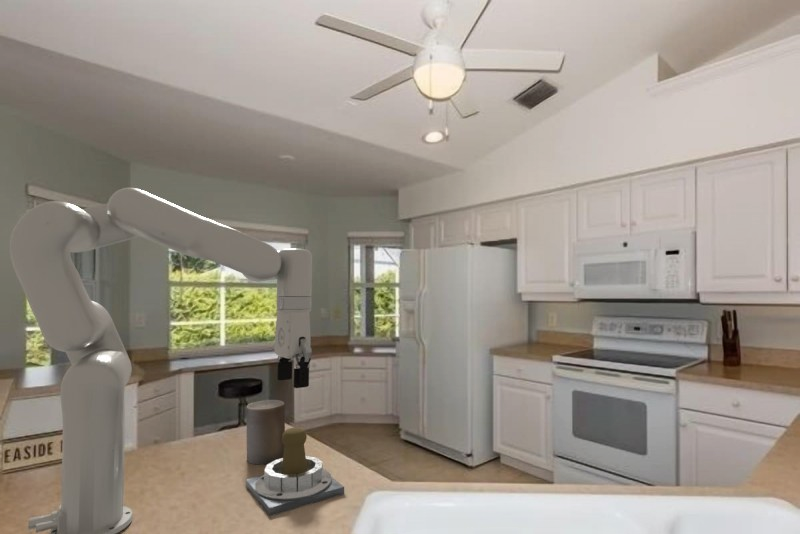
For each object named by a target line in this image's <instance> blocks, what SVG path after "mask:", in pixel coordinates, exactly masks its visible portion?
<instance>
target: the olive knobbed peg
mask: <svg viewBox="0 0 800 534" xmlns="http://www.w3.org/2000/svg"><path fill="white" fill-rule="evenodd" d="M307 435H308V434H307V431H306V430H305V429H304V428H302V427H290V428H287V429H285V431H284V433H283V435H282V442H283V444H284V445H285V447H284V455H283V463H282V471H281V474H284V475H291V474H300V473H304V472H308V471H307V463H306V456H307V455H306V449H305V443H306V441H307V438H308V437H307Z"/></svg>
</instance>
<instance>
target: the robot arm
mask: <svg viewBox="0 0 800 534" xmlns="http://www.w3.org/2000/svg"><path fill="white" fill-rule="evenodd" d="M136 238H143V239H145V240H148V241H150V242H153V243H155V244H157V245H160V246H162V247H165V248H167V249H169V250H172V251H174V252H177V253H179V254H181V255H185V256H188V257H191V258H196V259H203V260H207V261H209V262H213V263H216V264H218V265H220V266H224V267H226V268H228V269H231V270H233V271H236V272H238V273H241V274H242V275H243V277H245V278H246V279H247V280H249V281H251V282H266V281H276V307H275V308H276V312H277V316H276V322H275V332H274V334H275V335H274V349H273V350H274V353H275V355H276V356H277V380H278V381H286V380H293V384H292V385H293V388H294V389H301V388H308V387H309V385H310V368H311V363H310V362H311V356H312V347H311V319H310V312H312V301H313V300H312V292H313V290H312V289H313V287H312V286H313V285H312V284H313V283H312V282H313V279H312V278H313V254H312V252H311V251H310V250H308V249H304V248H291V247H290V248H283V249H281V250H277V249H276V248H275V247H273V246H272V245H271V244H269V243H266V242H264V241H262V240H260V239H258V238H256V237H253V236H251V235H249V234H247V233H244V232H242V231H240V230H238V229H235V228H232V227H230V226H227V225H224V224H222V223H219V222H216V221H215V220H212V219H210V218H206V217H204V216H201V215H199V214H197V213H194V212H193V211H190V210H188V209H185V208H183V207H181V206H179V205H176V204H174V203H172V202H170V201H167V200H166V199H163V198H161V197H158V196H156V195H154V194H151V193H149V192H148V191H145V190H143V189H142V190H141V189H140V188H136V187H123V188H121V189H118V190H116V191H115V192H113V194H112V195H111V196H110V197H109V200H108V201H107V203H103V204H100V205H94V206H91V207H86V208H80V207H79V206H77V205H75V204H72V203H70V202H67V201H61V200H60V201H59V200H51V201H46V202H42V203H40V204H37V205H36V206H33V207H32V208H30V210H28V211H27V212H25V213H24V214H23V215H22V216H21V217H20V219H19V220H18V221H17V223H16V224H15V226H14V228H13V230H12V232H11V235H10V239H9V254H10V255H9V256H10V260H11V264H12V267H13V270H14V272H15V274H16V277H17V278H18V281H19V284H20V285H21V287H22V290H23V292H24V294H25V297H26V300H27V303H28V305H29V306H30V309H31V312H32V314H33V315H34V318H35V320H36V323H37V325H38V327H39V329H40V332H41V335H42V337H43V339H44V342H46V343H47V345H49V346H50V348H52V349H54V350H56V351H59V352H64V353H65V354H66V356H67V358H68V360H69V362H70V364H71V365H70V367H69V368H68V369H67V370H66V372H65V373H64V375H63V378H62V381H61V384H60V405H61V415H62V419H61V420H62V440H61V441H62V444H61V447H62V455H61V456H62V457H61V458H62V459H61V491H60V492H61V495H60V501H61V502H60V504H59V507H58V509H57V510H52V512H51V513H48V514H44V515H38V516H34V517H33V516H32V517H29V519H28V524H27V525H28V527H27V528H28V529H27V530H28V531H31V530H35V533H36V534H38V533H40V532H45V531H48V530H50V531H49V534H118V533H119V532H121V531H123V530H124V529H125V528H127V527H128V526H129V525H130V523H131V522H132V521H133V516H134V512H133V510H132V509H131V508H130V507H128V506H125V505H124V498H125V497H124V495H125V494H124V491H125V490H124V489H125V483H124V482H125V445H126V443H125V438H126V436H125V435H126V434H125V433H126V432H125V431H126V429H125V428H126V427H125V426H126V424H125V423H126V421H125V420H126V416H125V414H126V410H125V387H126V386H127V384H128V383H129V381H130V379H131V376H132V372H133V371H132V369H133V368H132V363H131V362H132V361H131V360H130V357H129V355H128V352H127V350H126V348H125V346H124V343H123V341H122V338H121V336H120V335H119V332H118V330H117V328H116V325H115V323H114V320H113V318H112V316H111V314H110V313H109V312H108V310H107V309H106V308H105V307H104V306H103V305H102V304H100V303H99V302H96V301H93V300H92V299H91V298H90V296H89V294H88V292H87V290H86V288H85V286H84V284H83V280H82V278H81V275H80V273H79V271H78V269H77V268H76V266H75V264H74V262H73V259H72V256H71V253H83V252H84V253H85V252H89V251H93V250H96V249H99V248H103V247H108V246H111V245H115V244H118V243H123V242H126V241H129V240H133V239H136ZM292 358H293V361H291V360H292ZM293 363H294V366H295V368H293ZM292 378H293V379H292Z"/></svg>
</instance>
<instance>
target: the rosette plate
mask: <svg viewBox="0 0 800 534" xmlns="http://www.w3.org/2000/svg"><path fill="white" fill-rule="evenodd" d="M305 456H306V463H307V471H308V472H304V473H300V474H291V475H284V474H281V471H282V463H283V458H281V459H278V460H275V461H273V462H271V463H268V464H266V466H265V468H264V472H263V473H264V474H262V475H259V476H255V477H249V478H247V479H245V487H246V488H247V490H249V492H250V494H251V495H252V496H253V497H254V498H255V499H256V502H258V504H259V505H260V506H261V507H262V508H263V510H264V511H265V512H266V514H267V515H268V517H271V516H274V515H277V514H281V513H285V512H288V511H291V510H292V511H293V510H295V509H298V508H301V507H304V506H308V505H311V504H314V503H319V502H322V501H325V500H329V499H333V498H335V497H338V496H341V495H345V485H343V484H341V483H340V482H339V481H338V480H336V479H335V478H333V477H332V474H331V473H330V472H329V471H328V470H327V469H324V467H323V461H322V460H321V459H319V458H318V457H315V456H309V455H305Z"/></svg>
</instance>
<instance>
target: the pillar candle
mask: <svg viewBox="0 0 800 534" xmlns="http://www.w3.org/2000/svg"><path fill="white" fill-rule="evenodd" d="M245 408H246V409H245V410H246V461H247V462H248V463H250V464H253V465H268V464H269V463H271V462H273V461H275V460H278V459H281V458H283V455H284V447H285V445H284V444H283V442H282V435H283V433H284V431H285V430H286V422H285V421H286V417H285V416H286V414H285V413H286V411H285V408H286V407H285V402H284V401H283V400H278V399H267V398H266V399H265V400H258V401H254V402H251V403H248V404H246V407H245Z"/></svg>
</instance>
